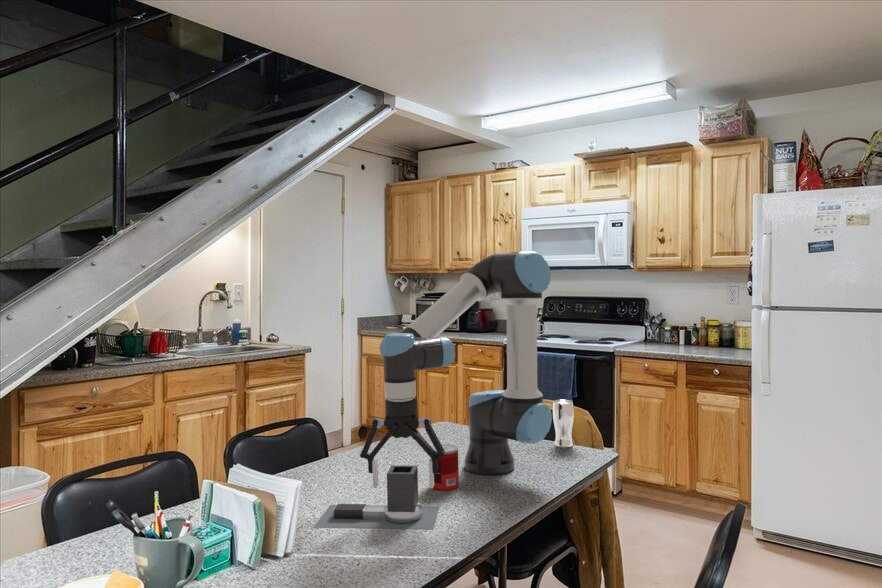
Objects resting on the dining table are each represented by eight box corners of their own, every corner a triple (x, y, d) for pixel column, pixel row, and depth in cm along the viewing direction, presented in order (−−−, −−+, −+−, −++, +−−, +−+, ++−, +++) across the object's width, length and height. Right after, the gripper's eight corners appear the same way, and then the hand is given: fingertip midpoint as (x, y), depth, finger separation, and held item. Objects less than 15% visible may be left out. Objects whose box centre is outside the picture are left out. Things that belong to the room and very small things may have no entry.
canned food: (462, 483, 166) (461, 444, 166) (453, 493, 158) (452, 452, 158) (436, 481, 168) (435, 443, 168) (426, 490, 161) (425, 450, 161)
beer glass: (576, 447, 199) (575, 403, 199) (555, 448, 199) (554, 403, 199) (571, 442, 206) (571, 399, 206) (551, 442, 206) (550, 399, 206)
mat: (439, 507, 148) (439, 506, 148) (433, 531, 134) (433, 529, 134) (330, 506, 151) (330, 504, 151) (313, 529, 137) (313, 527, 137)
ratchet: (424, 509, 146) (423, 487, 146) (419, 524, 137) (419, 500, 137) (339, 508, 148) (338, 486, 148) (328, 523, 139) (328, 499, 139)
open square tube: (418, 502, 145) (417, 465, 145) (414, 512, 139) (413, 473, 138) (392, 501, 146) (391, 465, 145) (387, 511, 139) (386, 473, 139)
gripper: (453, 394, 144) (456, 480, 145) (353, 395, 147) (356, 480, 147) (451, 400, 137) (454, 491, 137) (345, 402, 139) (348, 491, 140)
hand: (403, 486), depth 142 cm, fingers open, 13 cm apart
